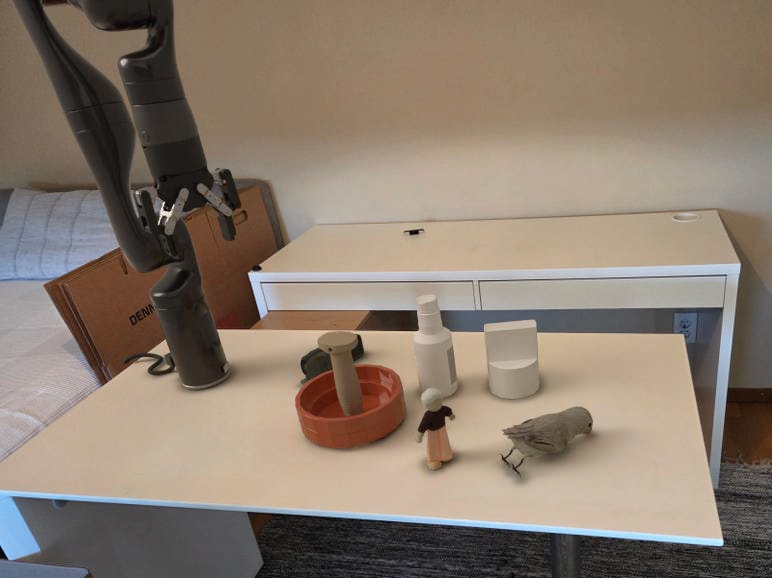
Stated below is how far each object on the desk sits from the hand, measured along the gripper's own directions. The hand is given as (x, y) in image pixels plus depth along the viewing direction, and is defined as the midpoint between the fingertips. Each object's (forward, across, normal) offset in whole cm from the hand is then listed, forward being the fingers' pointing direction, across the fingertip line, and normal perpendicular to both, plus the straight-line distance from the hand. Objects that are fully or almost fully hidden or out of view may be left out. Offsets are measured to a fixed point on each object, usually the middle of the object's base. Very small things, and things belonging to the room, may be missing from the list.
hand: (204, 248), depth 95 cm
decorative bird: (+32, -20, +47) cm, 60 cm away
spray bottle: (+32, -25, +20) cm, 45 cm away
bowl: (+32, -10, +14) cm, 36 cm away
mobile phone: (+32, -20, -4) cm, 38 cm away
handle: (+31, -10, +14) cm, 36 cm away
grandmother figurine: (+32, -10, +34) cm, 48 cm away
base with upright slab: (+32, -33, +31) cm, 55 cm away
